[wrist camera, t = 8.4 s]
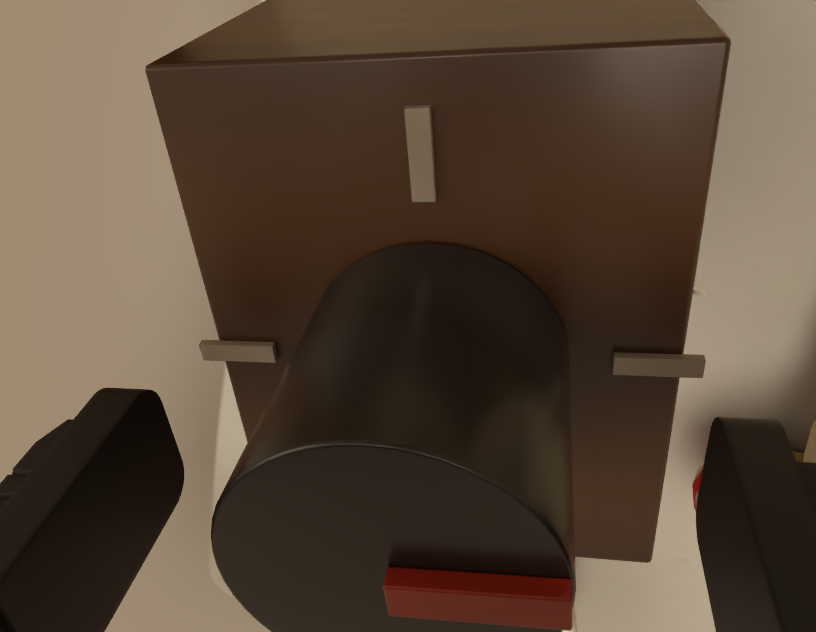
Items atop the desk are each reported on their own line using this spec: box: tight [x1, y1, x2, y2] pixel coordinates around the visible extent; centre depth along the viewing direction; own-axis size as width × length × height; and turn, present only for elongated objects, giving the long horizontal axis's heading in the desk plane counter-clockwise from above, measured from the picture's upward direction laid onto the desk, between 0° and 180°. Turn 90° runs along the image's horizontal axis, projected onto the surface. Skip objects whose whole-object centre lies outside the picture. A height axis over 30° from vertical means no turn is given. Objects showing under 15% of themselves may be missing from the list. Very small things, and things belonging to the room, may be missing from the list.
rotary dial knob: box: [211, 243, 576, 632], centre depth 10 cm, size 4×4×5 cm
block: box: [146, 0, 731, 563], centre depth 20 cm, size 10×9×18 cm
